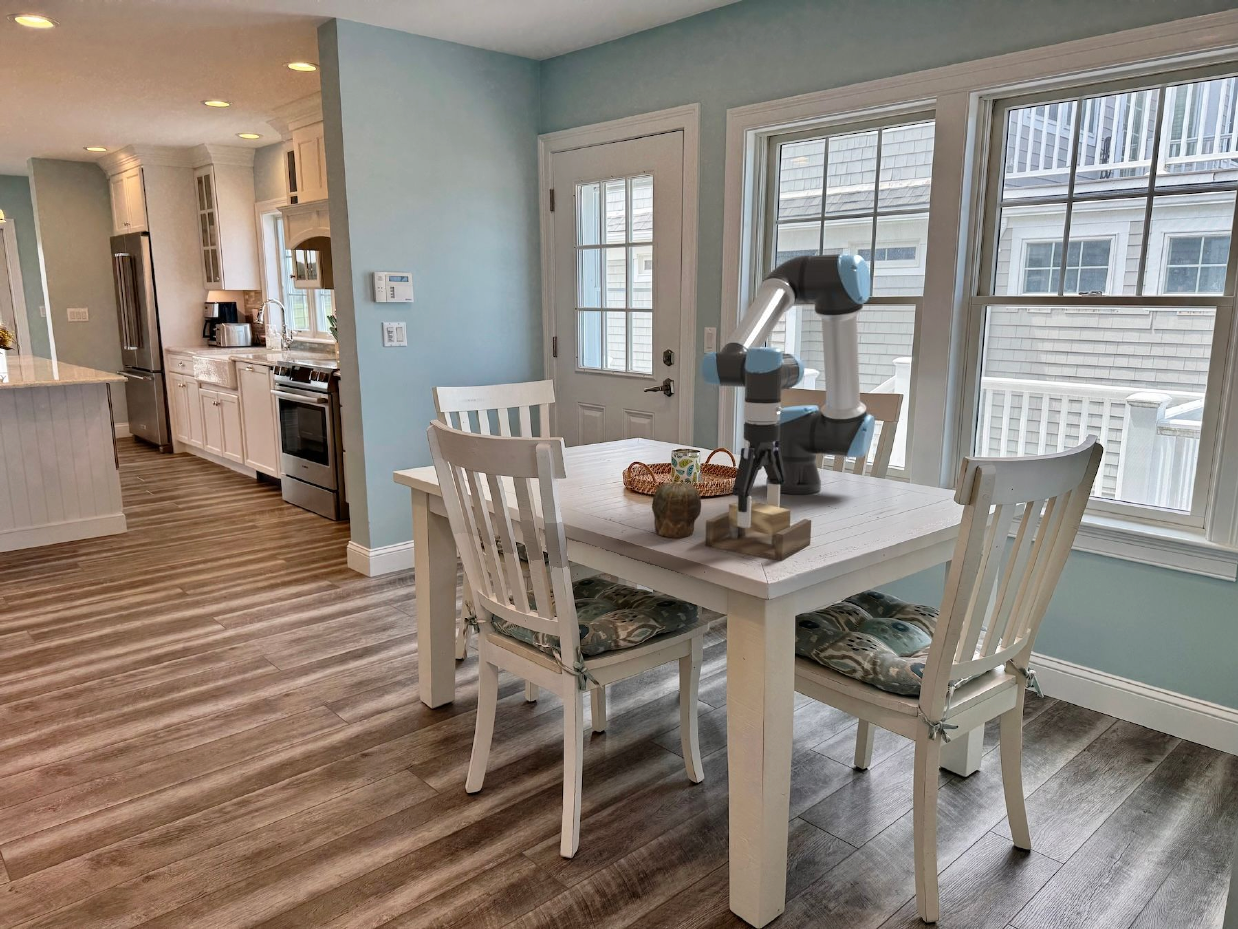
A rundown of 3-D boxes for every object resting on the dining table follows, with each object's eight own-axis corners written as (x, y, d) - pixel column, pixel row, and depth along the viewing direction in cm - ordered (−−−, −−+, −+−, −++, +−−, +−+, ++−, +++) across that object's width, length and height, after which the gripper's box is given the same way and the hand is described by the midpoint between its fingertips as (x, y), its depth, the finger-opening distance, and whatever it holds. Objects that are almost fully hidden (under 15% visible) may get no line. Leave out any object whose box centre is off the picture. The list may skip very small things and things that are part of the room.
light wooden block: (789, 530, 177) (790, 510, 176) (771, 535, 173) (772, 514, 172) (746, 519, 186) (747, 499, 185) (728, 524, 182) (729, 504, 181)
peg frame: (705, 545, 180) (706, 521, 179) (736, 531, 191) (737, 507, 190) (782, 560, 169) (783, 534, 168) (810, 544, 180) (811, 520, 179)
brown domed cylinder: (665, 543, 182) (666, 489, 179) (644, 530, 192) (644, 479, 189) (709, 537, 186) (710, 485, 184) (686, 525, 196) (686, 475, 194)
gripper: (750, 430, 163) (747, 535, 167) (803, 416, 183) (799, 510, 187) (716, 427, 167) (714, 529, 171) (772, 413, 187) (768, 505, 191)
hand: (758, 519), depth 179 cm, fingers open, 13 cm apart
